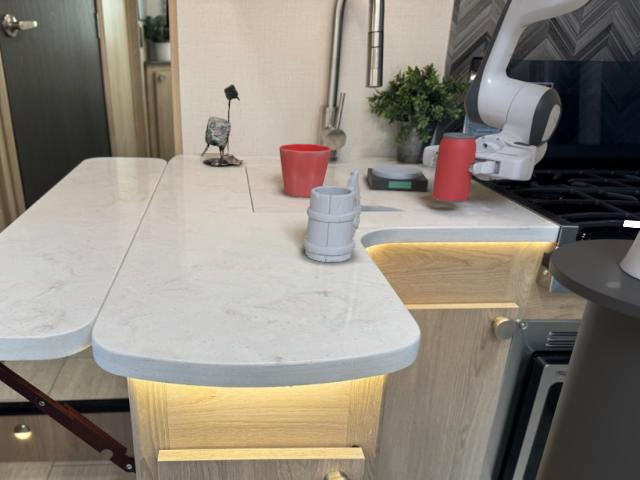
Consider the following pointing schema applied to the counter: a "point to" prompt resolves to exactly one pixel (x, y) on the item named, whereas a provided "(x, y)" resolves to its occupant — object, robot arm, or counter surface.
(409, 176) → the kitchen scale
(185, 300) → the counter surface
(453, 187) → the beer can
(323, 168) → the flower pot
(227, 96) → the grey tall irregular piece
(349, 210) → the mug
